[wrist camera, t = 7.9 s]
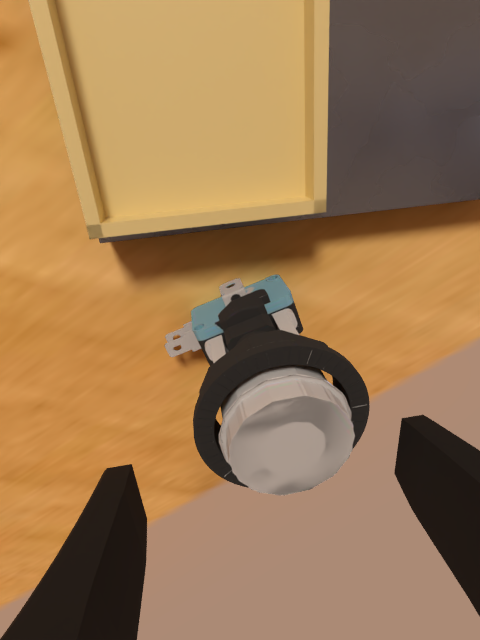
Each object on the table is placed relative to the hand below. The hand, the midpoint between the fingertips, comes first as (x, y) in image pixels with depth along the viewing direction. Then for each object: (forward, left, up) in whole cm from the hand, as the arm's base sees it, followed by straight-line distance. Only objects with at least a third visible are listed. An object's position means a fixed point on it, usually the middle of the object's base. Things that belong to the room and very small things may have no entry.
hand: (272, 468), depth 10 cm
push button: (0, 0, -11) cm, 11 cm away
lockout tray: (+1, -10, -9) cm, 14 cm away
